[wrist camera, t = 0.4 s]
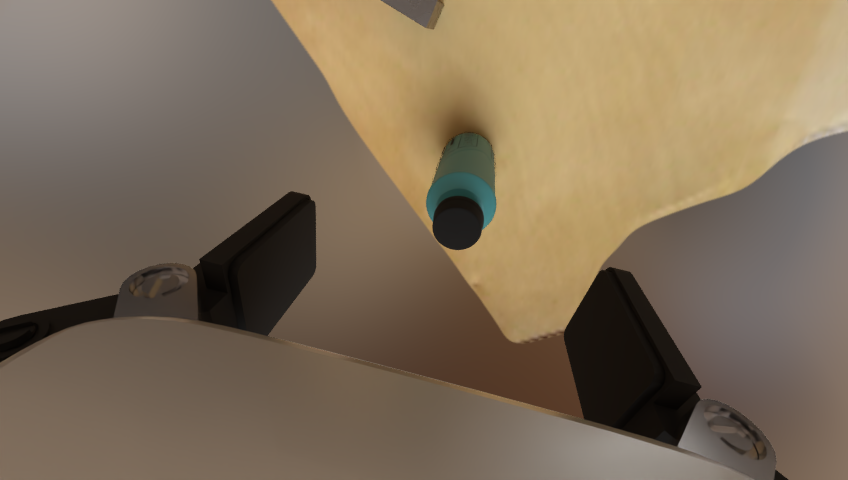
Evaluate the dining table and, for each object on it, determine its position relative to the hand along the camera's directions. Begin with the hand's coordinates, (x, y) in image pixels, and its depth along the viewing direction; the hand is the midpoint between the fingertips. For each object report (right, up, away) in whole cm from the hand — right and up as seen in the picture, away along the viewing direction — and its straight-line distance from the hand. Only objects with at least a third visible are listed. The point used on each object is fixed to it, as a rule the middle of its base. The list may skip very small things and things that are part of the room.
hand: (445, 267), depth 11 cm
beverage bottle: (+5, +12, +31) cm, 34 cm away
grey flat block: (-1, +26, +24) cm, 35 cm away
